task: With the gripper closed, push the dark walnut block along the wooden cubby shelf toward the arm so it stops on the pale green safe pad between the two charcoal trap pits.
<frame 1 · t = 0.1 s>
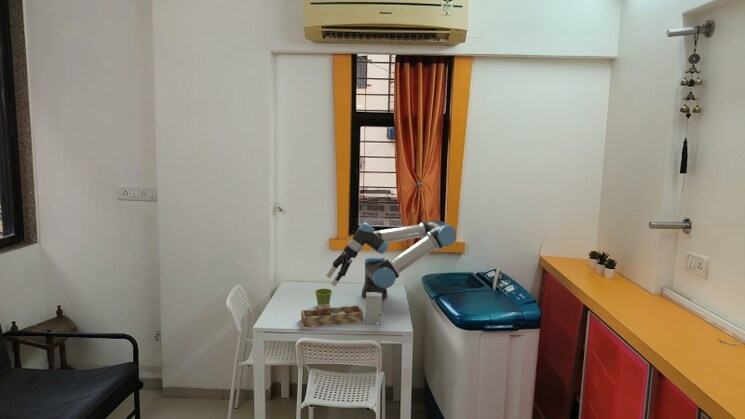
hand: (330, 281, 244), 15 cm above the table, tool tilted 35°, fingers open, 13 cm apart
plant pot: (323, 306, 249), on the table
walnut block: (324, 315, 229), point 3 cm above the table, touching wooden cubby shelf
skincare box: (373, 322, 230), on the table
wooden cubby shelf: (332, 320, 230), on the table
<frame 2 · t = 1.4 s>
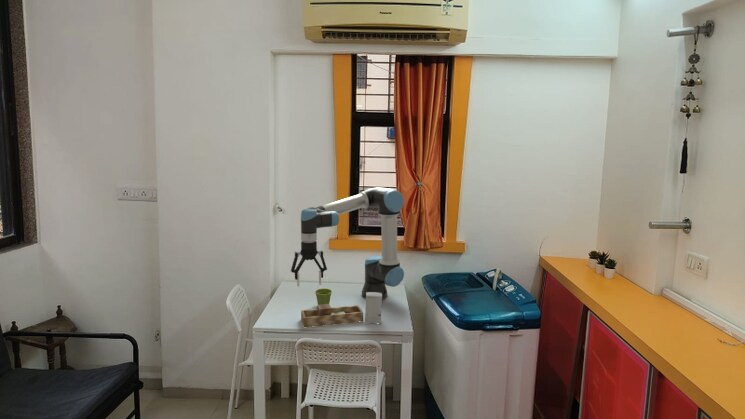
hand: (309, 284, 224), 20 cm above the table, tool pointing down, fingers open, 10 cm apart
nothing on the table moved.
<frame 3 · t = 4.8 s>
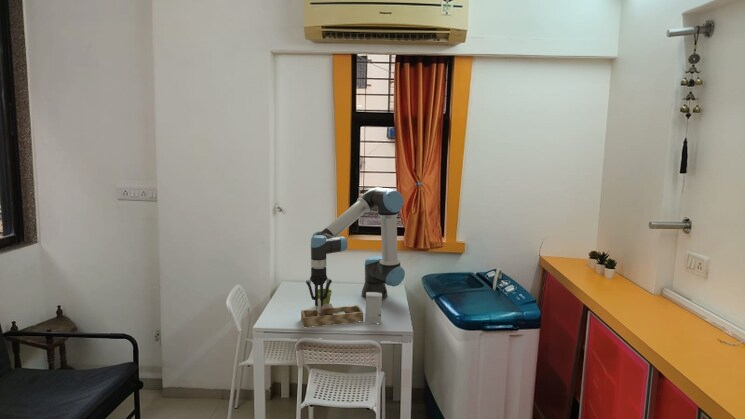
hand: (319, 312, 228), 5 cm above the table, tool pointing down, fingers closed
walnut block: (326, 315, 229), point 3 cm above the table
everything else where it was.
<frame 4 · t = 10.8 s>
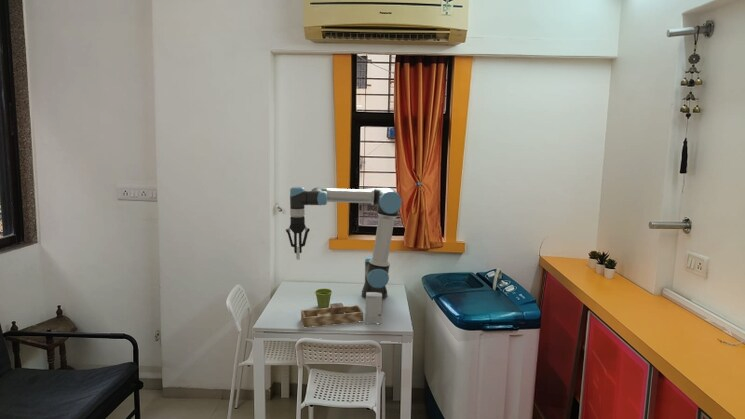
hand: (298, 258, 246), 26 cm above the table, tool pointing down, fingers closed
walnut block: (337, 314, 230), point 3 cm above the table, touching wooden cubby shelf
everything else where it was.
at the end: walnut block 0.2 cm from the target spot, point 3.0 cm above the table; walnut block tilted 0°; the gripper is holding nothing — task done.
